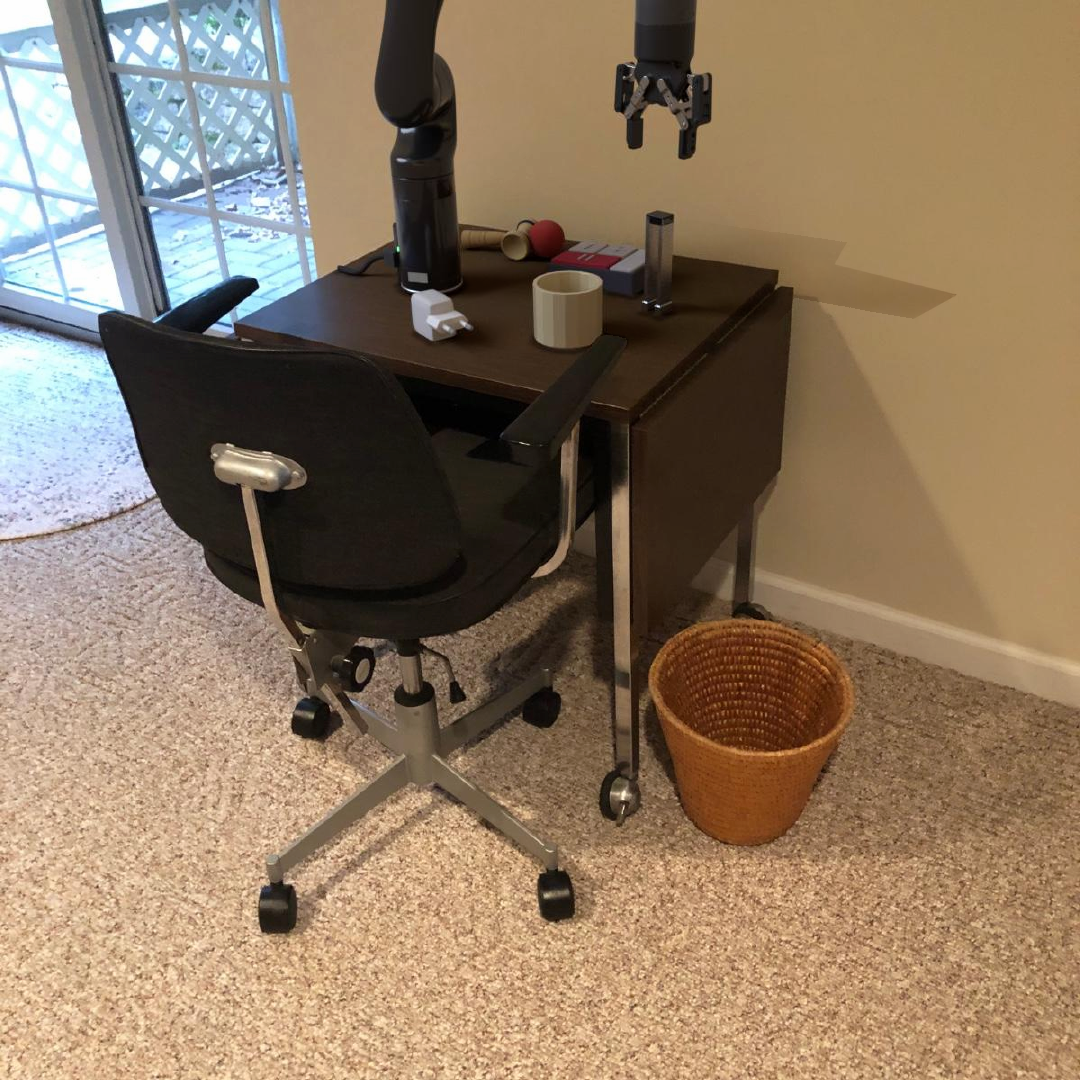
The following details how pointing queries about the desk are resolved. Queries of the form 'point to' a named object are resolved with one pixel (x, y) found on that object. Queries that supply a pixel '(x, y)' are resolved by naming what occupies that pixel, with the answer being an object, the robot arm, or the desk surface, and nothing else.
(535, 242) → the kendama
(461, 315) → the power adapter
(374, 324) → the desk surface
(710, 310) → the desk surface
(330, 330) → the desk surface
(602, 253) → the calculator
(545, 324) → the crock
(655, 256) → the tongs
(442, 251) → the robot arm
